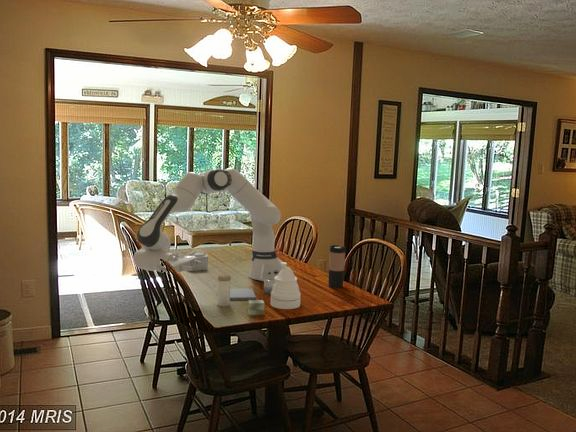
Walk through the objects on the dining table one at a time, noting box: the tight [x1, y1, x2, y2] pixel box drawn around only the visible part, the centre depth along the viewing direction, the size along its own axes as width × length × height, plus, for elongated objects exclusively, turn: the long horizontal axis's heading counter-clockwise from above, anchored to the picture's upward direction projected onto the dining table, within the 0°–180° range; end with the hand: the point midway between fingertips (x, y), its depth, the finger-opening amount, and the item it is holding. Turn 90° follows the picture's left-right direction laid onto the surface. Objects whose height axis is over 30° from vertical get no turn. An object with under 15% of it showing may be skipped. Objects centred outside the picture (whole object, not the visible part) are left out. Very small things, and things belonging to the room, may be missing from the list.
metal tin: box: [263, 278, 276, 295], centre depth 236 cm, size 6×6×6 cm
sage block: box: [247, 299, 265, 316], centre depth 206 cm, size 6×4×5 cm, turn 100°
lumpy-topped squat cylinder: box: [186, 250, 209, 272], centre depth 278 cm, size 10×13×9 cm
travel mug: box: [327, 244, 346, 289], centre depth 250 cm, size 8×8×20 cm
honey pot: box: [270, 261, 302, 310], centre depth 219 cm, size 13×13×18 cm
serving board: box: [230, 287, 257, 301], centre depth 230 cm, size 16×14×1 cm
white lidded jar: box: [217, 274, 232, 307], centre depth 216 cm, size 5×5×12 cm
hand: (197, 266), depth 218 cm, fingers open, 8 cm apart
